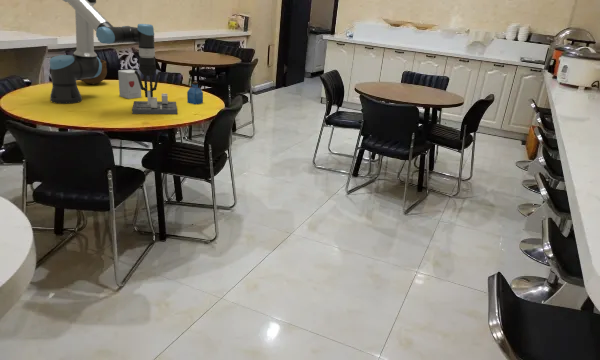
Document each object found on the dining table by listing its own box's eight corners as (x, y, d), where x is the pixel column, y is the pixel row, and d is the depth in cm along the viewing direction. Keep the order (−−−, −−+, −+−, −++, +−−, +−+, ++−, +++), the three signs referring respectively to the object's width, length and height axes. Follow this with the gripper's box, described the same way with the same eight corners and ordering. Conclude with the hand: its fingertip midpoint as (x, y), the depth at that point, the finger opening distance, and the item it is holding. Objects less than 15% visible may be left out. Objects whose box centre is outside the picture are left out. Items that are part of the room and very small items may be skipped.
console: (132, 113, 232) (132, 109, 231) (134, 105, 248) (133, 100, 247) (177, 114, 238) (177, 109, 237) (176, 105, 255) (175, 101, 254)
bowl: (101, 87, 285) (99, 63, 279) (70, 85, 284) (68, 61, 279) (113, 82, 302) (111, 59, 297) (84, 80, 302) (82, 57, 296)
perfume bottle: (195, 104, 261) (195, 83, 257) (187, 102, 264) (187, 81, 260) (202, 103, 266) (202, 82, 262) (195, 101, 269) (194, 80, 265)
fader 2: (161, 103, 245) (161, 95, 244) (161, 101, 250) (161, 93, 248) (167, 103, 246) (167, 95, 244) (167, 101, 250) (167, 93, 249)
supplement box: (128, 99, 262) (126, 72, 256) (119, 96, 266) (117, 70, 261) (142, 97, 269) (140, 71, 263) (132, 94, 273) (131, 69, 268)
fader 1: (151, 107, 235) (150, 98, 233) (151, 105, 239) (150, 96, 238) (157, 107, 236) (156, 99, 234) (157, 105, 240) (157, 97, 238)
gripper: (132, 57, 222) (135, 105, 231) (160, 58, 226) (162, 105, 234) (133, 55, 229) (136, 101, 238) (160, 56, 233) (162, 102, 241)
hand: (149, 103), depth 236 cm, fingers closed
